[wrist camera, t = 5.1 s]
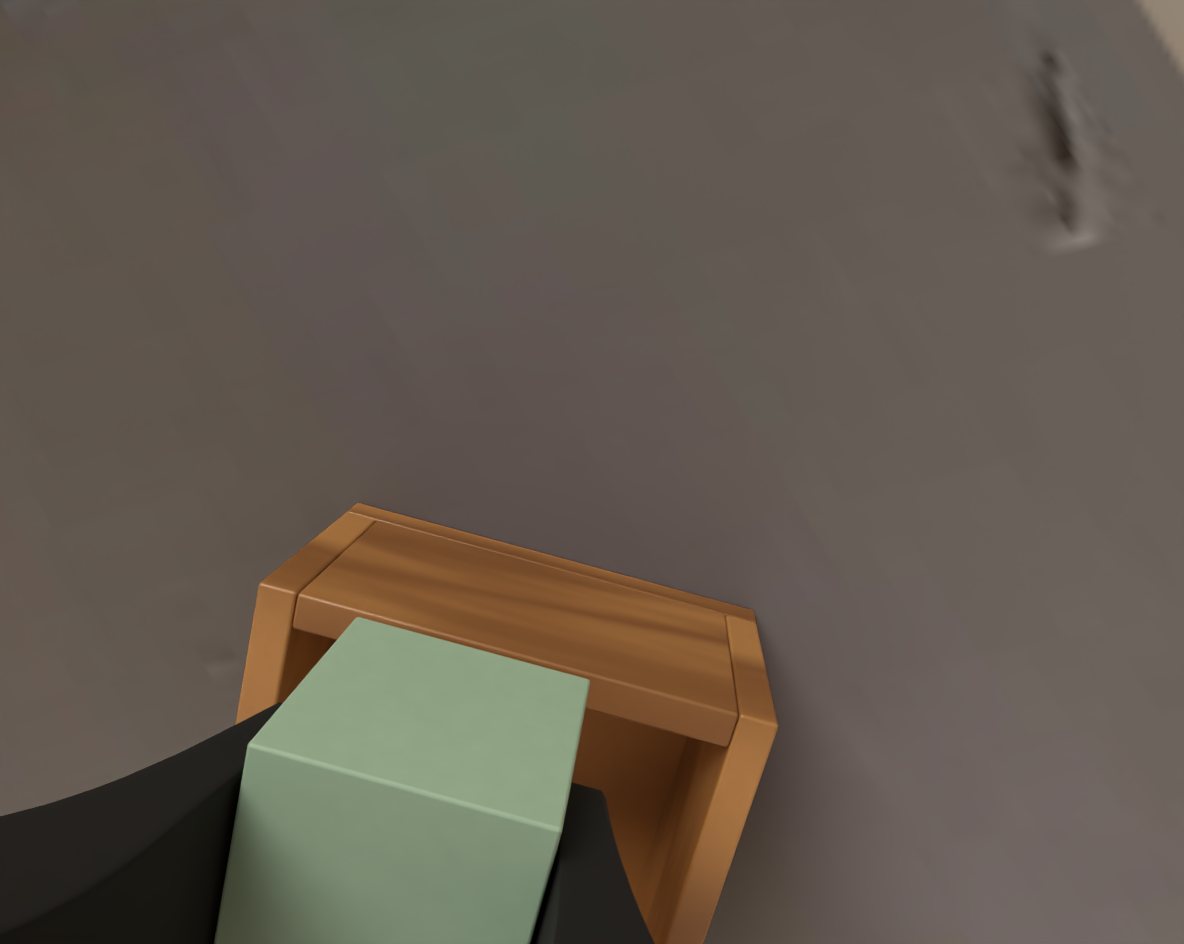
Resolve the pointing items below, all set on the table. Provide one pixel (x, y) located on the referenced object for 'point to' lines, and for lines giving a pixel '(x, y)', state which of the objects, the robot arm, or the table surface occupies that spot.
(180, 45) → the table surface
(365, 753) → the sage block
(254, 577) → the table surface
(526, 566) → the case
